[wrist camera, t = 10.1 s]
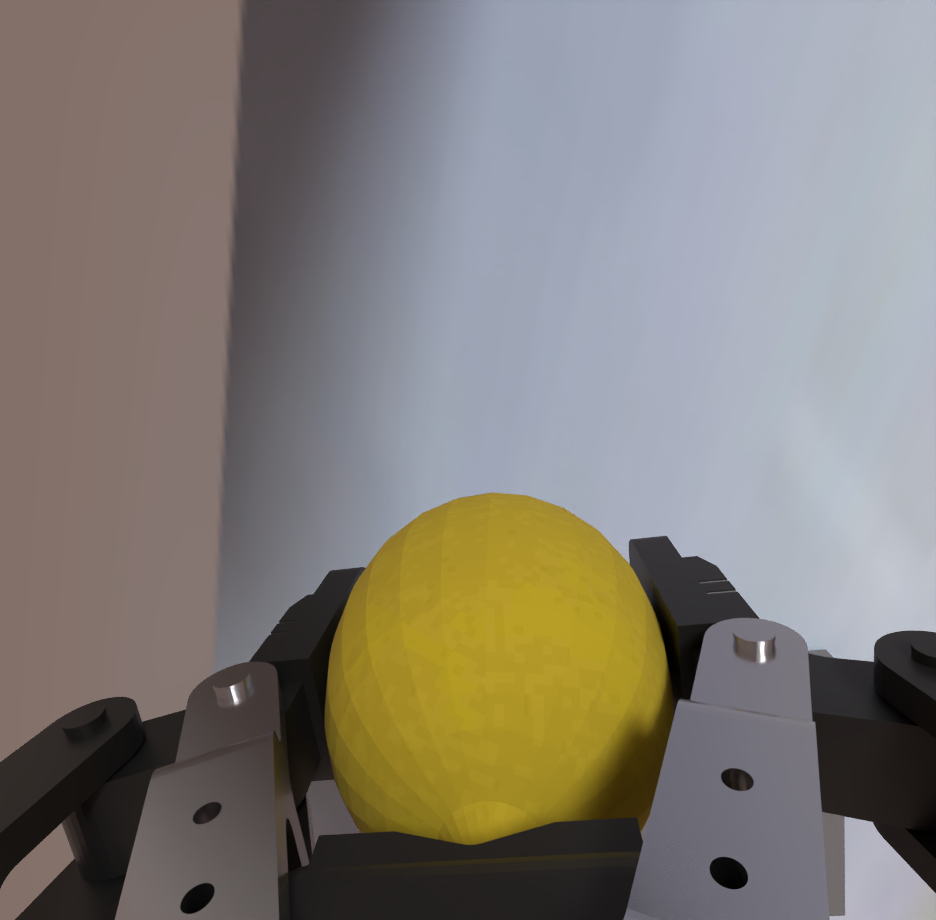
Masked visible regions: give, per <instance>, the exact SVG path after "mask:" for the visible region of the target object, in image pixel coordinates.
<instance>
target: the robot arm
mask: <svg viewBox="0 0 936 920" xmlns="http://www.w3.org/2000/svg"><path fill="white" fill-rule="evenodd" d="M629 559H630V566H631V567H632V569H633V570H634V572H635V574H636V576H637V578H638V580H639V582H640V583H641V585H642V587H643V589H644V591H645V593H646V595H647V597H648V599H649V601H650V603H651V605H652V607H653V609H654V611H655V613H656V615H657V618H658V621H659V623H660V627H661V631H662V635H663V639H664V644H665V649H666V655H667V660H668V665H669V670H670V675H671V681H672V689H673V708H674V709H673V723H672V727H671V731H670V735H669V739H668V743H667V747H666V751H665V756H664V760H663V764H662V768H661V772H660V776H659V780H658V784H657V788H656V792H655V796H654V800H653V804H652V808H651V812H650V816H649V820H648V825H647V829H646V833H645V837H644V841H643V840H642V836H641V832H640V828H639V824H638V820H637V817H632V818H615V819H598V820H580V821H563V822H554V823H550V824H547V825H543V826H540V827H536V828H533V829H529V830H526V831H522V832H519V833H515V834H512V835H508V836H505V837H502V838H498V839H495V840H491V841H488V842H484V843H481V844H476V845H465V844H459V843H454V842H448V841H443V840H438V839H432V838H427V837H422V836H416V835H411V834H406V833H400V832H395V831H391V832H373V833H356V834H339V835H322V836H319V837H318V840H317V843H316V845H315V842H314V833H313V824H312V815H311V808H310V804H309V800H308V796H307V791H308V788H309V786H310V784H311V781H319V780H333V779H334V774H333V770H332V765H331V760H330V755H329V751H328V746H327V740H326V733H325V701H326V689H327V677H328V667H329V657H330V652H331V647H332V642H333V639H334V636H335V633H336V630H337V627H338V624H339V622H340V619H341V617H342V614H343V611H344V609H345V606H346V604H347V601H348V598H349V596H350V594H351V591H352V589H353V587H354V585H355V583H356V581H357V580H358V578H359V577H360V575H361V574H362V573H363V571H364V570H365V569H366V568H364V567H360V568H351V569H341V570H332V571H330V572H329V573H328V574H327V576H326V577H325V579H324V580H323V581H322V583H321V584H320V586H319V587H318V589H317V590H316V591H315V593H314V594H312V595H307V596H305V597H304V598H303V599H301V600H300V601H298V602H297V603H295V604H294V605H293V606H291V607H290V608H289V609H288V610H287V612H286V613H285V614H284V616H283V617H282V618H281V620H280V621H279V622H280V623H279V624H277V625H276V626H275V628H274V629H273V630H272V632H271V635H269V636H268V637H267V639H266V640H265V641H264V643H263V644H262V645H261V647H260V648H259V649H258V651H257V652H256V653H255V655H254V656H253V657H252V659H251V660H250V661H249V662H247V663H241V664H238V665H234V666H231V667H228V668H226V669H223V670H221V671H219V672H217V673H215V674H213V675H211V676H210V677H208V678H207V679H205V680H204V681H203V682H201V683H200V684H199V685H198V686H197V687H196V688H195V689H194V690H193V691H192V693H191V694H190V696H189V699H188V702H187V707H186V710H183V711H179V712H176V713H172V714H169V715H165V716H162V717H158V718H154V719H151V720H147V721H144V722H142V721H141V718H140V714H139V711H138V708H137V705H136V703H135V701H134V700H132V699H130V698H127V697H113V698H107V699H102V700H99V701H96V702H92V703H90V704H87V705H85V706H82V707H80V708H78V709H76V710H74V711H72V712H70V713H68V714H66V715H64V716H63V717H61V718H60V719H58V720H57V721H55V722H54V723H52V724H51V725H50V726H48V727H47V728H46V729H44V730H43V731H42V732H40V733H39V734H38V735H36V736H35V737H34V738H32V739H31V740H30V741H28V742H27V743H25V744H24V745H23V746H21V747H20V748H19V749H18V750H16V751H15V752H13V753H12V754H11V755H9V756H8V757H7V758H5V759H4V760H3V761H1V762H0V888H1V886H2V884H3V882H4V880H5V879H6V877H7V876H8V874H9V873H10V871H11V870H12V869H13V868H14V867H15V866H16V865H17V864H18V863H19V862H20V861H21V860H22V859H23V858H24V857H25V856H26V855H28V853H30V852H31V851H32V850H33V849H34V848H35V847H36V846H37V845H38V844H39V843H40V842H41V841H42V840H43V839H45V838H46V837H47V836H48V835H49V834H50V833H51V832H52V831H53V830H54V829H55V828H56V827H57V826H58V825H59V824H61V823H62V825H63V827H64V830H65V833H66V835H67V838H68V841H69V844H70V847H71V849H72V852H73V855H74V858H75V859H74V860H73V861H72V862H71V863H70V864H69V865H68V866H67V867H66V868H65V869H64V870H63V871H62V872H61V873H60V874H59V875H58V876H57V877H56V878H55V879H54V880H53V882H51V883H50V884H49V885H48V886H47V887H46V889H44V891H43V892H42V893H41V894H40V895H39V896H38V897H37V898H36V899H35V900H34V901H33V902H32V903H31V904H30V905H29V906H28V907H27V908H26V909H25V910H24V911H23V912H22V913H21V914H20V915H19V916H18V917H17V918H16V919H15V920H829V906H828V892H827V878H826V864H825V850H824V836H823V822H822V812H825V813H830V814H835V815H841V816H846V817H851V818H856V819H861V820H866V821H871V822H873V823H874V825H875V827H876V829H877V830H878V832H879V833H880V834H881V835H882V837H883V838H884V839H885V840H886V841H887V842H888V843H889V844H890V845H891V846H892V847H893V849H894V850H895V851H896V852H897V853H898V854H899V855H900V856H901V857H902V858H903V859H904V860H905V861H906V862H907V863H908V864H909V865H910V866H911V868H912V869H913V870H914V871H915V872H916V873H917V874H918V875H919V876H920V877H921V878H922V879H923V880H924V881H925V882H926V883H927V884H928V886H929V887H930V888H931V889H932V890H933V891H934V892H935V893H936V633H935V632H927V631H900V632H894V633H890V634H887V635H885V636H883V637H881V638H880V639H878V640H877V642H876V643H875V647H874V662H869V661H859V660H848V659H838V658H830V657H824V656H819V655H814V654H810V653H808V647H807V643H806V642H805V640H804V639H803V638H802V636H801V635H800V634H798V633H797V632H795V631H794V630H792V629H790V628H789V627H787V626H784V625H782V624H779V623H776V622H773V621H768V620H764V619H759V617H758V616H757V615H756V614H755V613H754V611H753V610H752V609H751V608H750V606H749V605H748V604H747V603H746V601H745V600H744V599H743V598H742V597H741V595H740V594H739V593H738V592H736V590H735V588H734V587H733V586H732V584H731V583H730V582H729V581H727V578H726V577H725V576H724V575H723V573H722V572H721V571H720V570H719V568H718V567H717V566H716V565H714V564H712V563H710V562H708V561H706V560H704V559H702V558H700V557H698V556H694V557H684V558H682V557H681V556H680V554H679V553H678V551H677V550H676V549H675V547H674V546H673V544H672V543H671V541H670V540H669V539H668V537H667V536H660V537H650V538H641V539H631V540H630V541H629Z"/></svg>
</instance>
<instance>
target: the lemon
mask: <svg viewBox="0 0 936 920" xmlns="http://www.w3.org/2000/svg"><path fill="white" fill-rule="evenodd" d="M673 709H674V708H673V689H672V681H671V675H670V670H669V665H668V660H667V655H666V649H665V644H664V639H663V635H662V631H661V627H660V623H659V621H658V618H657V615H656V613H655V611H654V609H653V607H652V605H651V603H650V601H649V599H648V597H647V595H646V593H645V591H644V589H643V587H642V585H641V583H640V582H639V580H638V578H637V576H636V574H635V572H634V570H633V569H632V567H631V566H630V565H629V564H628V562H627V561H626V560H625V559H624V558H623V557H622V556H621V554H620V553H619V552H618V551H617V550H616V549H615V548H614V547H613V546H612V545H611V544H610V543H609V541H608V540H607V539H606V538H605V537H604V536H603V535H602V534H601V533H600V532H599V531H598V530H597V529H595V528H594V527H592V526H591V525H589V524H588V523H586V522H585V521H583V520H581V519H580V518H578V517H577V516H575V515H574V514H572V513H570V512H569V511H567V510H566V509H564V508H562V507H559V506H556V505H553V504H550V503H547V502H544V501H542V500H539V499H536V498H533V497H530V496H525V495H514V494H502V493H487V494H481V495H475V496H469V497H462V498H458V499H455V500H452V501H450V502H448V503H445V504H443V505H441V506H438V507H436V508H434V509H431V510H429V511H426V512H424V513H422V514H421V515H419V516H418V517H417V518H416V519H414V520H413V521H412V522H410V523H409V524H408V525H406V526H405V527H404V528H402V529H401V530H400V531H399V532H397V533H396V534H395V535H393V536H392V537H391V538H389V539H388V540H387V541H386V542H385V544H384V545H383V546H382V547H381V548H380V550H379V551H378V552H377V554H376V555H375V556H374V558H373V559H372V561H371V562H370V563H369V565H368V566H367V567H366V569H365V570H364V571H363V573H362V574H361V575H360V577H359V578H358V580H357V581H356V583H355V585H354V587H353V589H352V591H351V594H350V596H349V598H348V601H347V604H346V606H345V609H344V611H343V614H342V617H341V619H340V622H339V624H338V627H337V630H336V633H335V636H334V639H333V642H332V647H331V652H330V657H329V667H328V677H327V689H326V701H325V733H326V740H327V746H328V751H329V755H330V760H331V765H332V770H333V774H334V779H335V782H336V785H337V787H338V790H339V792H340V794H341V797H342V799H343V801H344V803H345V805H346V807H347V809H348V811H349V812H350V814H351V816H352V818H353V820H354V822H355V824H356V826H357V828H358V829H359V830H360V832H361V833H373V832H391V831H395V832H400V833H406V834H411V835H416V836H422V837H427V838H432V839H438V840H443V841H448V842H454V843H459V844H465V845H476V844H481V843H484V842H488V841H491V840H495V839H498V838H502V837H505V836H508V835H512V834H515V833H519V832H522V831H526V830H529V829H533V828H536V827H540V826H543V825H547V824H550V823H554V822H563V821H580V820H598V819H615V818H632V817H637V820H638V824H639V828H640V832H641V831H642V830H643V828H644V826H645V824H646V822H647V820H648V818H649V816H650V812H651V808H652V804H653V800H654V796H655V792H656V788H657V784H658V780H659V776H660V772H661V768H662V764H663V760H664V756H665V751H666V747H667V743H668V739H669V735H670V731H671V727H672V723H673Z"/></svg>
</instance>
